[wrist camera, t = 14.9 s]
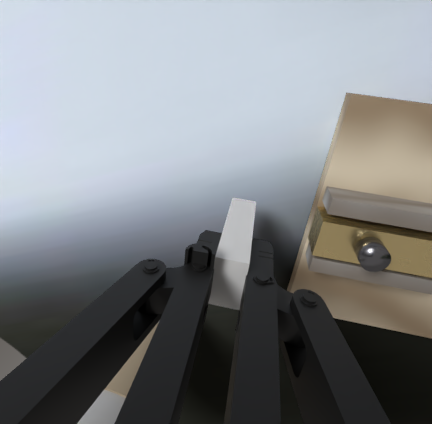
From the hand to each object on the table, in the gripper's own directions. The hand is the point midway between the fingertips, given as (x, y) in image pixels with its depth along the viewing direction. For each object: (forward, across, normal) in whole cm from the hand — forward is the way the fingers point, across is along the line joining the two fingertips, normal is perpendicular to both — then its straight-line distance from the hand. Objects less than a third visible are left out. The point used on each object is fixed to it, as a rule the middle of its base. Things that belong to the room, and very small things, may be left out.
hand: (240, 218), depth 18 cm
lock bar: (+1, +9, 0) cm, 9 cm away
